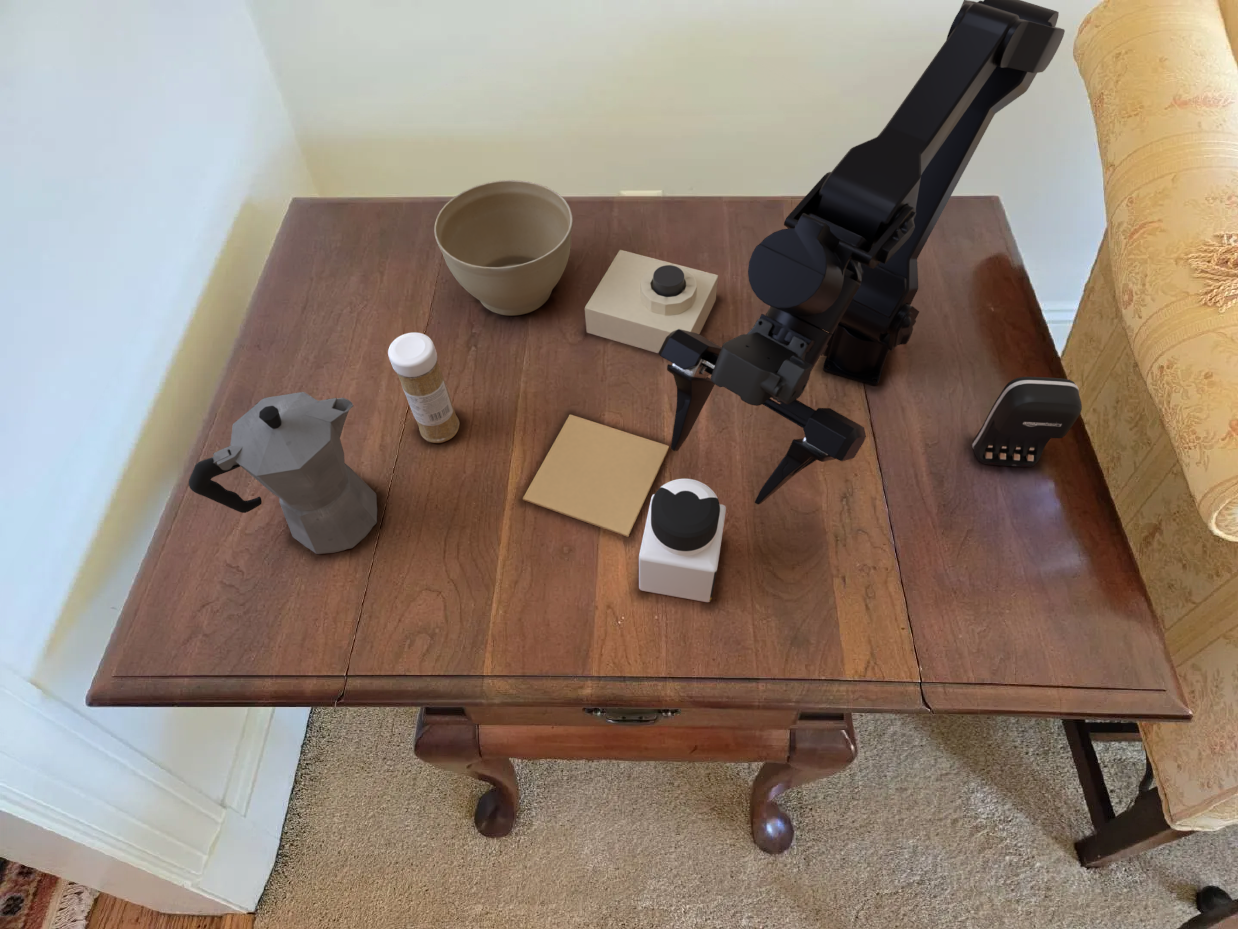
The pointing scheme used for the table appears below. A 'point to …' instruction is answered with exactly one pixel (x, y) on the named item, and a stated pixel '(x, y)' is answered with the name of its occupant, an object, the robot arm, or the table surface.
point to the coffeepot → (296, 470)
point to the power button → (668, 281)
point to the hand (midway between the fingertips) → (714, 476)
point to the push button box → (647, 303)
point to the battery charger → (1027, 420)
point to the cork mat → (597, 475)
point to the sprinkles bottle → (424, 386)
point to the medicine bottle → (682, 541)
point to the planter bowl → (506, 243)
